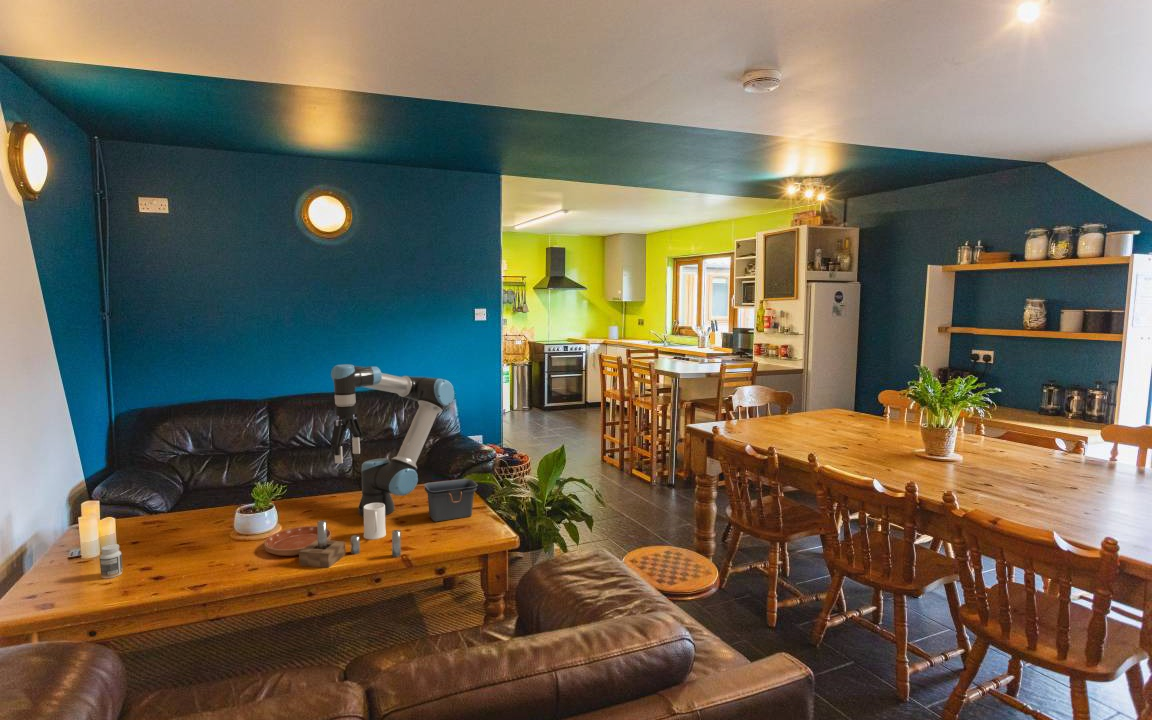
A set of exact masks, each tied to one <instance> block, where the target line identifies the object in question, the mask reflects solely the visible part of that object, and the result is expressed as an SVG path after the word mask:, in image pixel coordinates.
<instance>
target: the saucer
mask: <svg viewBox="0 0 1152 720" xmlns="http://www.w3.org/2000/svg"><path fill="white" fill-rule="evenodd" d="M317 539H318V530H317V525H315V526H313V525H309V526H307V525H306V526H297V527H292V528H288V529H284V530H281V531H278V532H276V533H273V534H272V535H270V536H268V537H267V538H266V539H265V540H264V543H263V545H264V551H266V552H267V553H269V554H272V555H275V556H279V557H280V556H281V557H291V556H293V557H294V556H299V551H301V550H302V549H304V548H305V547H307V546H308V545H310V544H311V543H313V542H314V541H316V540H317ZM331 539H332V532H331V530H330V529H329V528H327V540H331Z"/></svg>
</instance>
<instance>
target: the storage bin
mask: <svg viewBox="0 0 1152 720" xmlns="http://www.w3.org/2000/svg"><path fill="white" fill-rule="evenodd" d="M423 486H424V491H425V492H426V493H427V503H428V514H429V517H430V518H431V520H432V521H433V522H436V523H437V522H442V521H449V520H455V519H464V518H469V517H471V516H472V514H473V506H474V505H473V504H474V495H475V492H476V491H477V489H478V488H477V487H478V483H477V482H475V481H474V480H473V479H471V478H460V479H452V480H441V481H434V482H433V481H432V482H426V483H424V484H423Z"/></svg>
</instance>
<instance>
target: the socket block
mask: <svg viewBox="0 0 1152 720" xmlns="http://www.w3.org/2000/svg"><path fill="white" fill-rule="evenodd" d="M345 556H346V541H344V540H342V541H341V540H331V539H330V540H327V548H326V549H325V550H324V549H318V539H317V540H316V541H314V542H313V543H311V544H310V545H308V546H307V547H305V548H304V549H302V550H301V551H299V555H298V559H299V560H298V563H299V564H298V565H299V566H301V567H303V566H304V567H313V568H323V569H324V568H325V569H329V568H330V567H332V566H334V564H336V563H337V562H338V561H340V560H341V559H342V558H344V557H345Z"/></svg>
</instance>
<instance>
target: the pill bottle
mask: <svg viewBox="0 0 1152 720" xmlns="http://www.w3.org/2000/svg"><path fill="white" fill-rule="evenodd" d="M100 552H101V554H100V556H99V565H100V566H99V568H100V576H101V578H102V579H105V580H106V579H107V580H108V579H113V578H116V577H119V576H120V575H122V573H123V571H124V570H123V557H122V556H123V555H122V554H123V553H122V551H121V550H120V545H119V544H118V543H114V544H113V543H112V544H107V545H104V546H102V547H101V550H100Z"/></svg>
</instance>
